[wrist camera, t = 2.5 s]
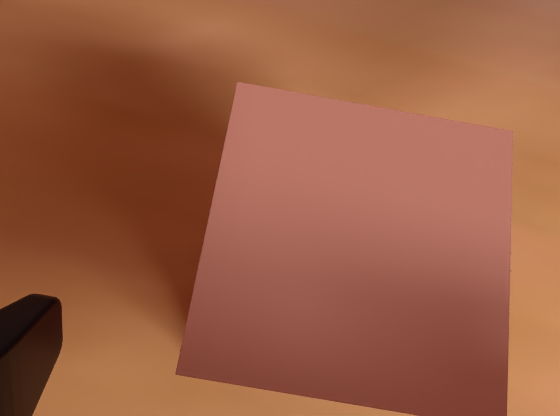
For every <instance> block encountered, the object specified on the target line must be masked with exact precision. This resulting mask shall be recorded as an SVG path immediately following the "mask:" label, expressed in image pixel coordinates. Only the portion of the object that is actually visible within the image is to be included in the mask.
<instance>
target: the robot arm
mask: <svg viewBox="0 0 560 416" xmlns="http://www.w3.org/2000/svg"><path fill="white" fill-rule="evenodd" d="M62 341H63V333H62V306H61V302H60V300H59V299H58V298H56V297H52V296H47V295H41V294H30V295H28V296H26V297H24V298H22V299H20V300H18V301H16V302H14V303H12V304H10V305H8V306H6V307H4V308H2V309H0V416H32V415H33V413H34V410H35V408H36V406H37V404H38V401H39V399H40V397H41V395H42V392H43V390H44V388H45V385H46V383H47V381H48V379H49V376H50V374H51V372H52V370H53V367H54V365H55V363H56V361H57V358H58V356H59V354H60V350H61V347H62Z"/></svg>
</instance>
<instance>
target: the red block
mask: <svg viewBox="0 0 560 416" xmlns="http://www.w3.org/2000/svg"><path fill="white" fill-rule="evenodd" d="M512 168H513V131H509V130H504V129H498V128H492V127H487V126H481V125H476V124H470V123H465V122H459V121H453V120H448V119H442V118H437V117H431V116H426V115H420V114H414V113H409V112H403V111H398V110H392V109H387V108H381V107H375V106H370V105H364V104H359V103H353V102H348V101H342V100H336V99H331V98H325V97H320V96H314V95H309V94H303V93H297V92H292V91H286V90H281V89H275V88H270V87H264V86H258V85H253V84H247V83H242V82H237V86H236V91H235V96H234V101H233V105H232V110H231V115H230V119H229V124H228V129H227V134H226V138H225V143H224V148H223V152H222V157H221V162H220V167H219V171H218V176H217V181H216V185H215V190H214V195H213V200H212V204H211V209H210V214H209V218H208V223H207V228H206V232H205V237H204V242H203V247H202V251H201V256H200V261H199V265H198V270H197V275H196V280H195V284H194V289H193V294H192V298H191V303H190V308H189V313H188V317H187V322H186V327H185V331H184V336H183V341H182V346H181V350H180V355H179V360H178V364H177V369H176V374H175V375H181V376H187V377H193V378H199V379H205V380H211V381H217V382H223V383H229V384H235V385H241V386H247V387H253V388H259V389H264V390H270V391H276V392H282V393H288V394H294V395H300V396H306V397H312V398H318V399H324V400H330V401H336V402H342V403H348V404H354V405H360V406H366V407H372V408H377V409H383V410H389V411H395V412H401V413H407V414H413V415H419V416H507V385H508V341H509V298H510V255H511V211H512Z"/></svg>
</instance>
